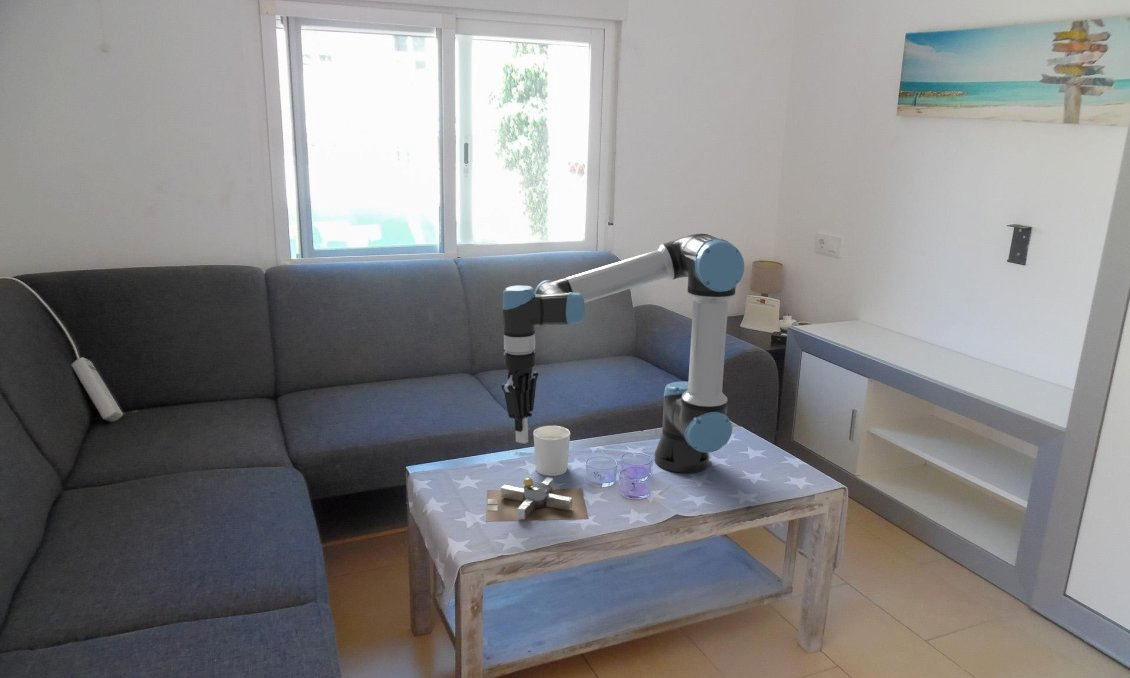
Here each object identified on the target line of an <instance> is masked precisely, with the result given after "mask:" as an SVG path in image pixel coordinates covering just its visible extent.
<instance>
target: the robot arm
mask: <svg viewBox="0 0 1130 678" xmlns="http://www.w3.org/2000/svg"><path fill="white" fill-rule="evenodd" d="M744 273H745V261H744V257H743V255H742V253H741V251H740V250H739V249H738V248H737V247H736V246H735V245H734V244H733V243H731V242H729V241H728V240H725V239H722V238H718V237H716V236H713V235H711V234H707V233H695V234H689V235H687V236H683V237H680V238H677V239H675V240H671V241H668V242H665V243H662V244H660V245H659V246H658V248H657V249H655V250H652V251H650V252H646V253H643V254H639V255H636V256H633V257H630V258H625V259H623V260H620V261H616V262H613V263H610V264H607V265H606V264H605V265H603V266H600V267H596V268H593V269H590V270H587V271H584V272H581V273H577V274H574V275H572V276H567V277H565V278H560V279H557V280H552V279H547V280H546V279H545V280H542V281H541V282H540V283H537V286H536V288H535V289H534V288H533V286H530V285H519V284H518V285H511V286H507V287H506V288H505V289H504V290H503V291H502V307H501V309H502V328H503V351H504V352H503V364H504V367H506V369H507V370H508V374H507V381H506V383H502V384H501V389H502V391H503V394H504V398H505V403H506V410H507V414H508V415H507V416H508V418H509V419H514V430H515V442H516V443H520V444H527V443H529V417H531V418H532V416H533V413H531V412H533V411H534V405H535V398H536V390H537V389H536V388H537V380H538V377H539V372H538V371H534V370H533V368H535V366H536V361H537V360H536V351H535V349H536V330H535V329H536V327H538V326H539V327H540V326H541V327H543V326H545V327H546V326H563V325H566V326H567V325H568V326H571V325H578V324H581V323H583V321H584V320H585V317H586V303H588V302H591V301H595V300H598V299H600V298H604V297H607V296H610V295H611V296H612V295H614V294H617V293H621V292H623V291H627V290H631V289H634V288H637V287H641V286H643V285H647V284H650V283H653V282H656V281H659V280H664V279H668V280H669V281H673V280H676V279H680V278H687V294H688V295H689V296H690V298H692V312H691V313H692V314H691V315H692V317H691V332H690V333H691V334H690V346H689V347H690V349H689V350H690V351H689V364H688V365H689V368H688V369H689V370H688V381H674V382H670V383H667V384H666V385H665V387H664V393H663V410H662V411H663V412H662V431H661V436H660V438H659V440H658V444H657V446H656V448H655V452H654V462H655V464H656V465H657V466H658V467H660V468H661V469H664V470H666V471H670V472H673V473H674V472H675V473H680V474H681V473H682V474H683V473H684V474H685V473H686V474H689V473H690V474H691V473H698V472H702V471H704V470H706V469H707V468H708V467H709V465H710V453H713V452H714V453H715V452H717V451H719V450H720V449H722V448H723V447H724V446H725V445H726V444H727V443H728V442H729V441H730V439H731V437H732V435H733V426H732V422H731V419H730V418H729V416H727V411H728V397H727V396H726V395H725V394H724V393H723V381H724V368H725V367H724V365H725V353H726V352H725V351H726V338H727V337H726V336H727V325H728V323H727V322H728V309H729V301H730V300H731V299H733V298H734V297H735V296H736V287H737V285H738V284H739V283H740V282H741V281H742V279H743V276H744Z"/></svg>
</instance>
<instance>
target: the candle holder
mask: <svg viewBox="0 0 1130 678" xmlns="http://www.w3.org/2000/svg"><path fill="white" fill-rule="evenodd" d="M532 435H533V443H534V444H533V446H534V447H533V449H534V462H535V463H534V465H535V471H536V473H538V474H539V475H543V476H547V477H548V476H551V477H552V476H553V477H554V476H555V477H556V476H560V475H563V474H565V473H566V472H567V470H568V464H569V463H568V462H569V450H570V438H571V431H570V430H569V429H568V428H566V427H564V426H559V425H544V426H538V427H537V428H535V429H534V430H533V434H532Z"/></svg>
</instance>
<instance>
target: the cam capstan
mask: <svg viewBox="0 0 1130 678" xmlns="http://www.w3.org/2000/svg"><path fill="white" fill-rule="evenodd" d="M554 480H555V479H554V478H552V477H548V476H547V477H545V478H544V480H543V481H542V482H534V481H533V479H532V478H530V477H526V478H524V479H523V482H522V484H523V487H517V486H512V485H508V484H507V485H506V484H503V486H501V487H500V490H501V497H503V498H508V499H513V500H518V501H524V502H523V503H522V504H521V505H520V506H519V507H518V518H519V519H524V520H525V519H526V517H527V516H528V515H529V514H530V513H531V512H532V511H533V510H534V509H540V508H544V507H546V506H548V507H553V508H558V509H564V510H569V511H570V509H571V508H572V498H570V497H565V496H560V495H555V494H549V492H550V491H551V490H552V489H554V483H555V481H554Z"/></svg>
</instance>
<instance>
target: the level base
mask: <svg viewBox="0 0 1130 678" xmlns="http://www.w3.org/2000/svg"><path fill="white" fill-rule="evenodd" d="M583 492H584V491H583V487H579V488H578V487H574V488H573V487H571V488H570V487H569V488H553V489H552V490H551V491H550V492H549V494H555V495H560V496H565V497H570V498H572V508H571V509H570V511H569V510H564V509H558V508H553V507H548V506H546V507H544V508H540V509H534V510H533V511H532V512H531V513H530V514H529V515H528V516H527V517H526V519H525V520H524V519H519V518H518V507H519V506H520V505H521V504H522V503H523V502H524V501H518V500H513V499H508V498H503V497H501V489H489V490H486V516H485V517H486V518H485V519H486V520H485V521H486V523H487V522H491V523H492V522H523V521H524V522H525V521H527V522H528V521H559V520H560V521H562V520H564V521H565V520H568V521H569V520H589V519H590V518H589V514H588V510H587V509H588V508H587V505H586V501H585V500H586V499H585V496H584V493H583Z"/></svg>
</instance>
